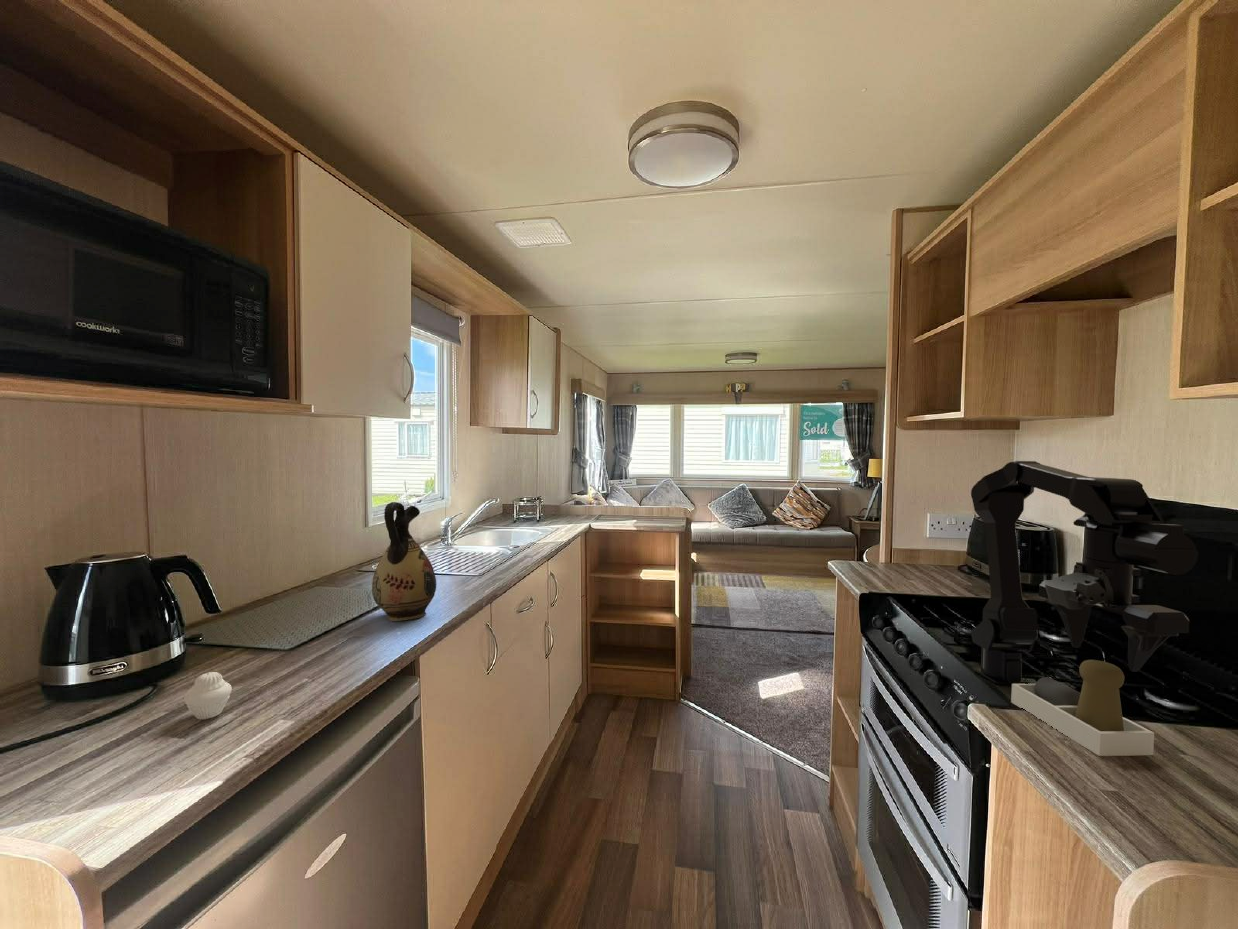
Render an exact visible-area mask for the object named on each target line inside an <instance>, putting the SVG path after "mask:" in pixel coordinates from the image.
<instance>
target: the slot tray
mask: <svg viewBox="0 0 1238 929" xmlns="http://www.w3.org/2000/svg"><path fill="white" fill-rule="evenodd" d="M1036 683H1037V682H1035V683H1028V684H1011V695H1010V696H1011V698H1010V703H1012V704H1013V705H1015V706H1017V707H1018V708H1019V709H1021V708H1023V709H1025V710H1026V711H1028V712H1030V713H1032V714H1033V715H1035V716H1036V717H1037V718H1036V717H1035V718H1036V719H1038V720H1039V719H1041V720H1042V721H1041V720H1040V721H1041V722H1043V721H1044V722H1046V723H1047V724H1046V723H1045V724H1046V725H1048V726H1049V727H1051V726H1052V727H1053V729H1054V730H1056V729H1057V730H1058V731H1057V730H1056V731H1057V732H1059V733H1061V734H1062V733H1063V735H1064V736H1066V737H1067V736H1068V737H1067V738H1069V739H1071V740H1072V741H1074V742H1075V743H1077V744H1078V745H1080V746H1082V747H1084V748H1085V749H1087V750H1089V751H1091V753H1094V754H1095V755H1097V756H1099V757H1121V756H1122V757H1123V756H1128V757H1129V756H1130V757H1131V756H1154V744H1155V732H1153V731H1152V730H1149V729H1147V728H1146V727H1143V726H1142V725H1140V724H1138V723H1136V722H1134V721H1132V720H1130V719H1128V718H1126V717H1123V716H1122V718H1123V726H1124V731H1099V730H1097V729H1095V728H1093V727H1092V726H1090V725H1088V724H1086V723H1084V722H1083V721H1081V720H1079V719H1077V718H1076V717H1075V715H1076V711H1077V706H1078V705H1069V706H1054V705H1052V704H1051V703H1049V702H1047V701H1045V700H1043V699H1042V698H1040V697H1038V696H1037V695H1036V693H1035V685H1036ZM1023 709H1022V710H1023ZM1025 710H1024V711H1025ZM1026 711H1025V712H1026ZM1028 712H1027V713H1028ZM1030 713H1029V714H1030ZM1033 715H1032V716H1033ZM1044 722H1043V723H1044ZM1052 727H1051V728H1052Z"/></svg>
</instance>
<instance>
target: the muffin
mask: <svg viewBox="0 0 1238 929" xmlns="http://www.w3.org/2000/svg"><path fill="white" fill-rule="evenodd" d="M232 691H233V690H232V685H231V684H230V683H229V682H227V681H226V680H224V679H223V676H222V674H221V673H220V672H216V671H215V672H214V671H213V672H212V671H211V672H206V673H203V674H200V675H199V676H198V677H196V678H195V681H194V684H193V685H192V687H191V688H190V689H188V691H187V692H186V693H185V695H184V703H185V704H186V708H188V709H189V711H190V712H191V714H192V715H193V716H194V717H195V718H196V719H197V720H209V719H212V718H215V717H217V716H218V715H220V714H221V713H222V711H223V710H224V708H225V706H226V704H227V703H228V701H229V699H230V697H231V693H232Z"/></svg>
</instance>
